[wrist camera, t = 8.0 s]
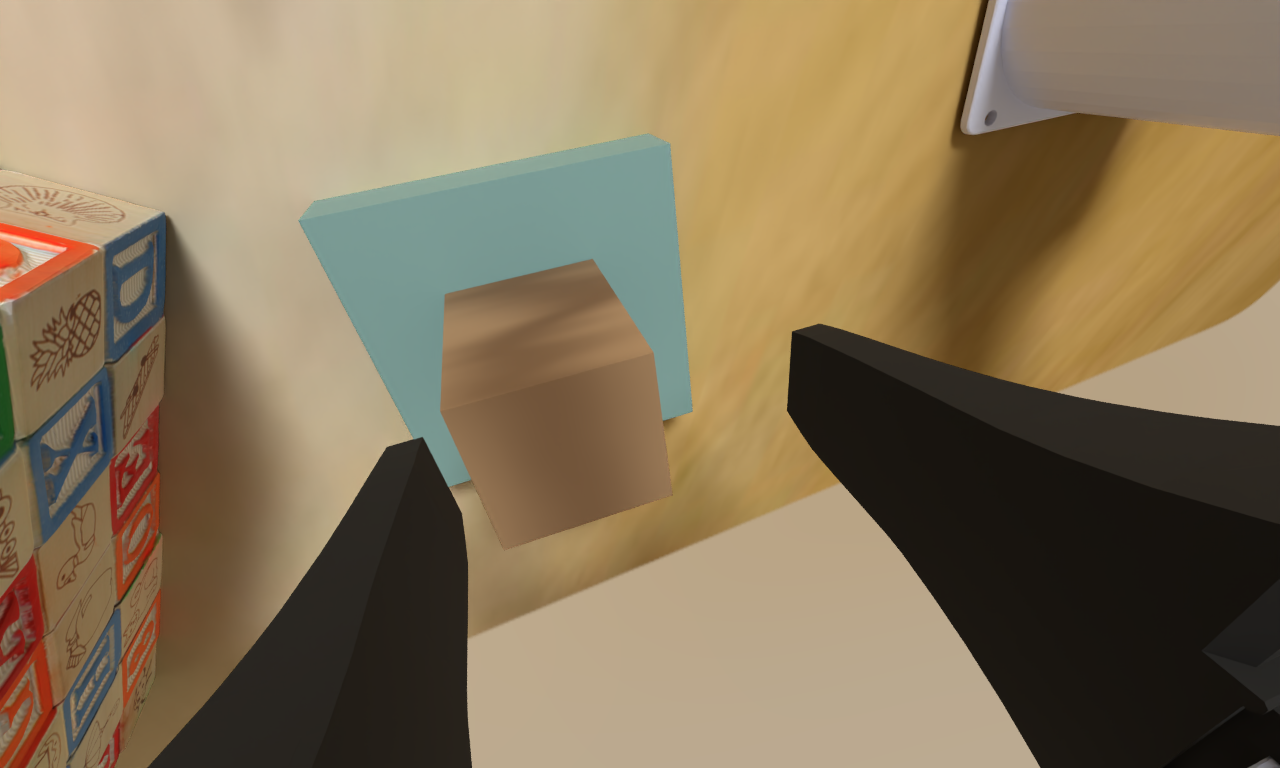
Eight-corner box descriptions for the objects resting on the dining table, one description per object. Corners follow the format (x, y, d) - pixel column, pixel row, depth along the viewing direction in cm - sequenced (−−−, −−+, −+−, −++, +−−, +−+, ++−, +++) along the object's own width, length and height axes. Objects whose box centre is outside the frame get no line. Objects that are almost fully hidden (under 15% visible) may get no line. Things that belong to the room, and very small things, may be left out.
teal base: (643, 131, 16) (670, 143, 15) (670, 379, 22) (692, 411, 20) (318, 196, 15) (298, 220, 13) (440, 446, 21) (440, 489, 19)
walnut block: (592, 258, 16) (653, 352, 11) (615, 377, 18) (672, 494, 13) (444, 293, 15) (440, 411, 10) (490, 412, 17) (503, 550, 13)
